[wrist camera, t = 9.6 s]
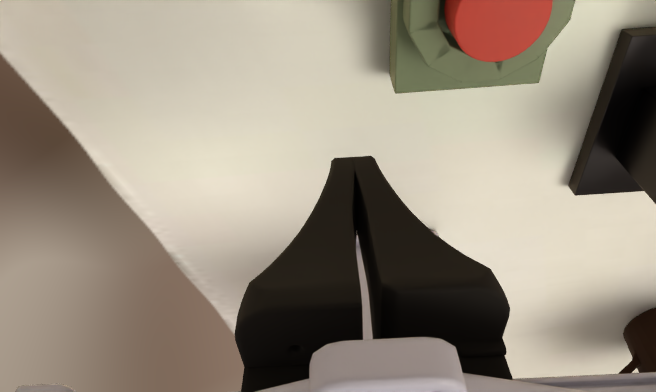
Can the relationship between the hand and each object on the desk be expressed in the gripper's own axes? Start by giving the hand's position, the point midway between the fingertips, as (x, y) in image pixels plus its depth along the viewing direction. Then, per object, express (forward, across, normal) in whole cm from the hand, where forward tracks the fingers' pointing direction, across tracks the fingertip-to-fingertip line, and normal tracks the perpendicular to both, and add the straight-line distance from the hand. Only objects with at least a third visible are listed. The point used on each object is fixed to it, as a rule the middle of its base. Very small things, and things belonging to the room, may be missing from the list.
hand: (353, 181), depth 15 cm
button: (+7, -6, -3) cm, 10 cm away
